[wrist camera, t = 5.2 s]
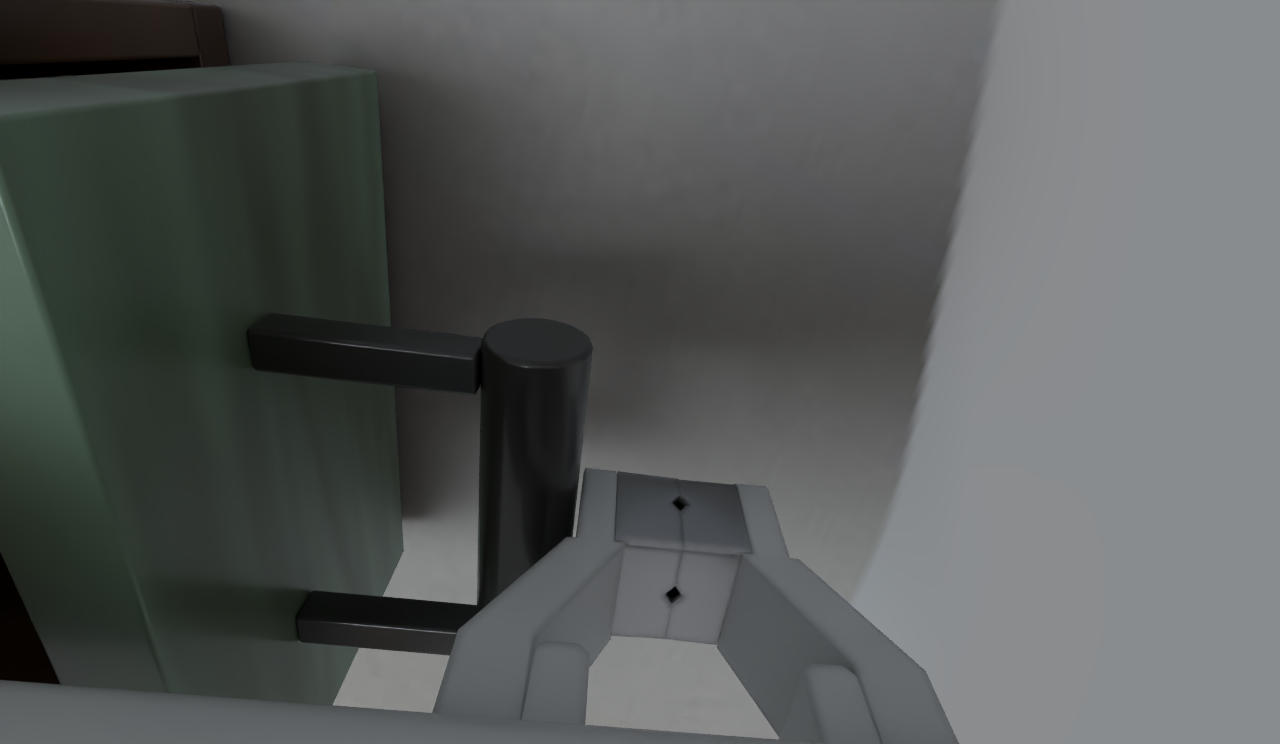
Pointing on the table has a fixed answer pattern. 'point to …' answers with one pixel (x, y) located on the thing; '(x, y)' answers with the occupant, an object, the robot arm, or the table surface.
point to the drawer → (233, 389)
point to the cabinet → (110, 36)
